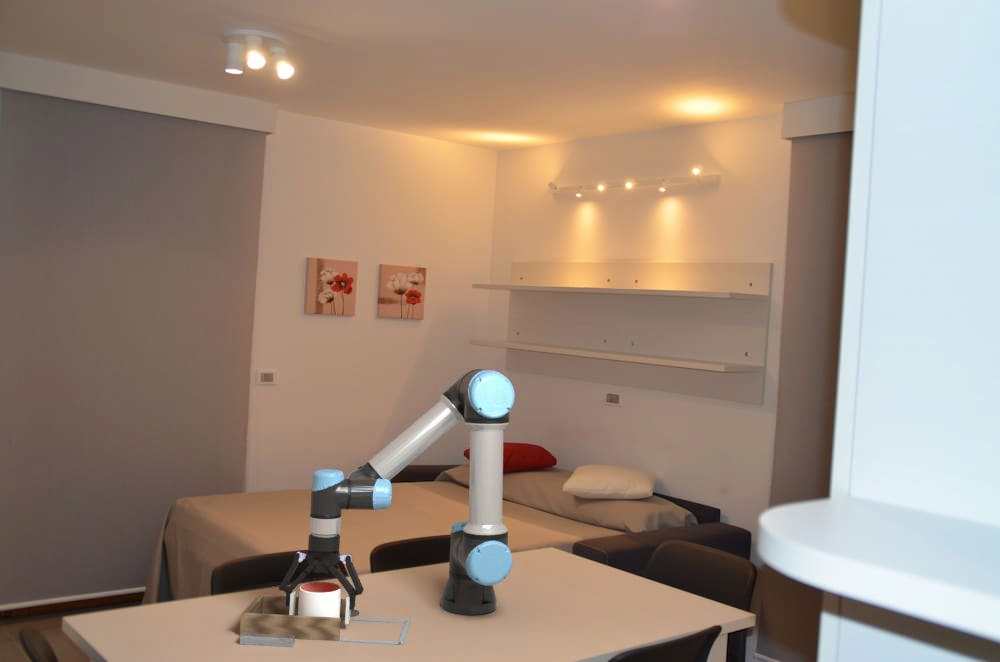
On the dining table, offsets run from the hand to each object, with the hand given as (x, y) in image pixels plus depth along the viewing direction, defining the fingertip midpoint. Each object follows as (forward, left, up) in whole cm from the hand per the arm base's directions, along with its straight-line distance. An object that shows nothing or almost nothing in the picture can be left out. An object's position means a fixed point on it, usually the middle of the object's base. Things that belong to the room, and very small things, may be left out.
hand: (319, 621), depth 211 cm
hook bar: (+9, +13, -2) cm, 16 cm away
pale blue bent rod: (-14, 0, -2) cm, 14 cm away
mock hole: (-5, -13, -2) cm, 14 cm away
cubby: (+5, 0, -2) cm, 6 cm away
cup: (0, 0, -2) cm, 2 cm away
